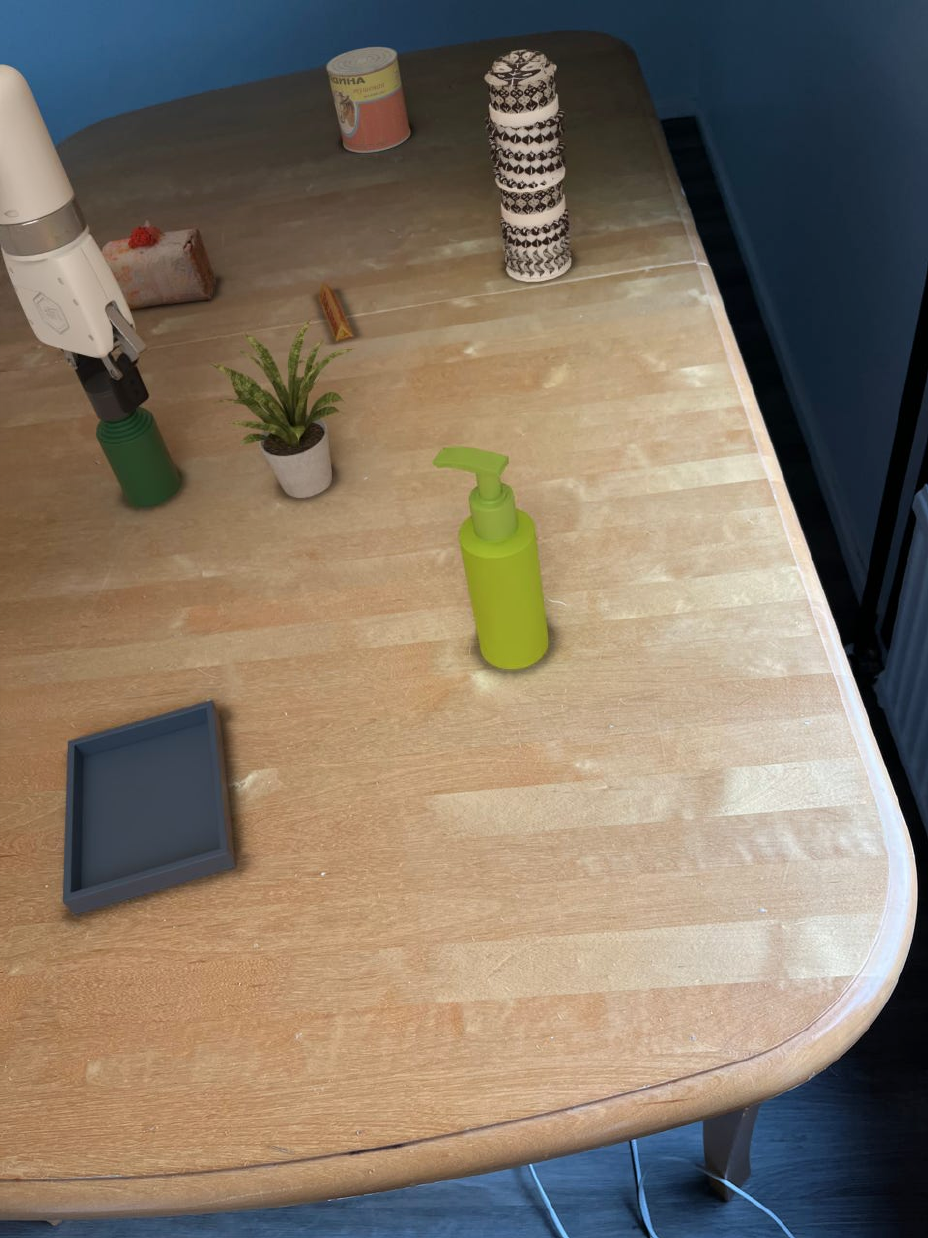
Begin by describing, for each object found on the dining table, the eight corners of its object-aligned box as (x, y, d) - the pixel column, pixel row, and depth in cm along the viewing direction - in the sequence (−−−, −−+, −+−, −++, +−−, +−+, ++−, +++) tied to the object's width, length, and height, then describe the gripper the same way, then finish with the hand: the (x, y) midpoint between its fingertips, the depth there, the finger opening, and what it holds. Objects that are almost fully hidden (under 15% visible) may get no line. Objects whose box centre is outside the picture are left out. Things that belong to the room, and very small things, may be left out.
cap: (95, 404, 103) (82, 376, 101) (135, 392, 104) (123, 364, 102) (98, 426, 101) (84, 398, 98) (139, 414, 101) (126, 385, 99)
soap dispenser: (487, 610, 90) (454, 425, 76) (559, 629, 88) (539, 441, 73) (458, 658, 87) (417, 474, 73) (532, 678, 84) (505, 492, 70)
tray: (237, 869, 76) (228, 852, 74) (75, 917, 75) (62, 902, 73) (221, 716, 86) (212, 699, 85) (79, 757, 85) (67, 740, 84)
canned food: (329, 144, 169) (312, 66, 161) (381, 119, 174) (366, 42, 165) (372, 158, 163) (355, 78, 154) (424, 131, 167) (411, 52, 159)
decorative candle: (522, 293, 127) (500, 80, 109) (491, 264, 134) (465, 58, 116) (587, 269, 129) (575, 56, 111) (553, 242, 135) (537, 36, 117)
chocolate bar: (335, 343, 125) (330, 327, 124) (317, 299, 134) (313, 283, 132) (355, 337, 126) (351, 321, 124) (336, 294, 134) (332, 278, 132)
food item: (114, 317, 138) (84, 249, 131) (128, 288, 144) (100, 220, 137) (210, 305, 137) (186, 235, 130) (221, 275, 142) (198, 207, 135)
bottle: (115, 502, 109) (65, 400, 100) (150, 468, 113) (105, 367, 103) (158, 513, 107) (110, 411, 98) (192, 478, 110) (149, 376, 101)
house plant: (378, 425, 112) (345, 289, 100) (393, 503, 103) (358, 363, 91) (251, 453, 112) (203, 320, 100) (254, 534, 102) (201, 397, 91)
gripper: (-53, 232, 91) (38, 404, 104) (73, 259, 83) (153, 440, 96) (11, 195, 95) (90, 365, 108) (137, 217, 87) (206, 396, 100)
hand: (119, 398), depth 102 cm, fingers closed on cap, 4 cm apart
